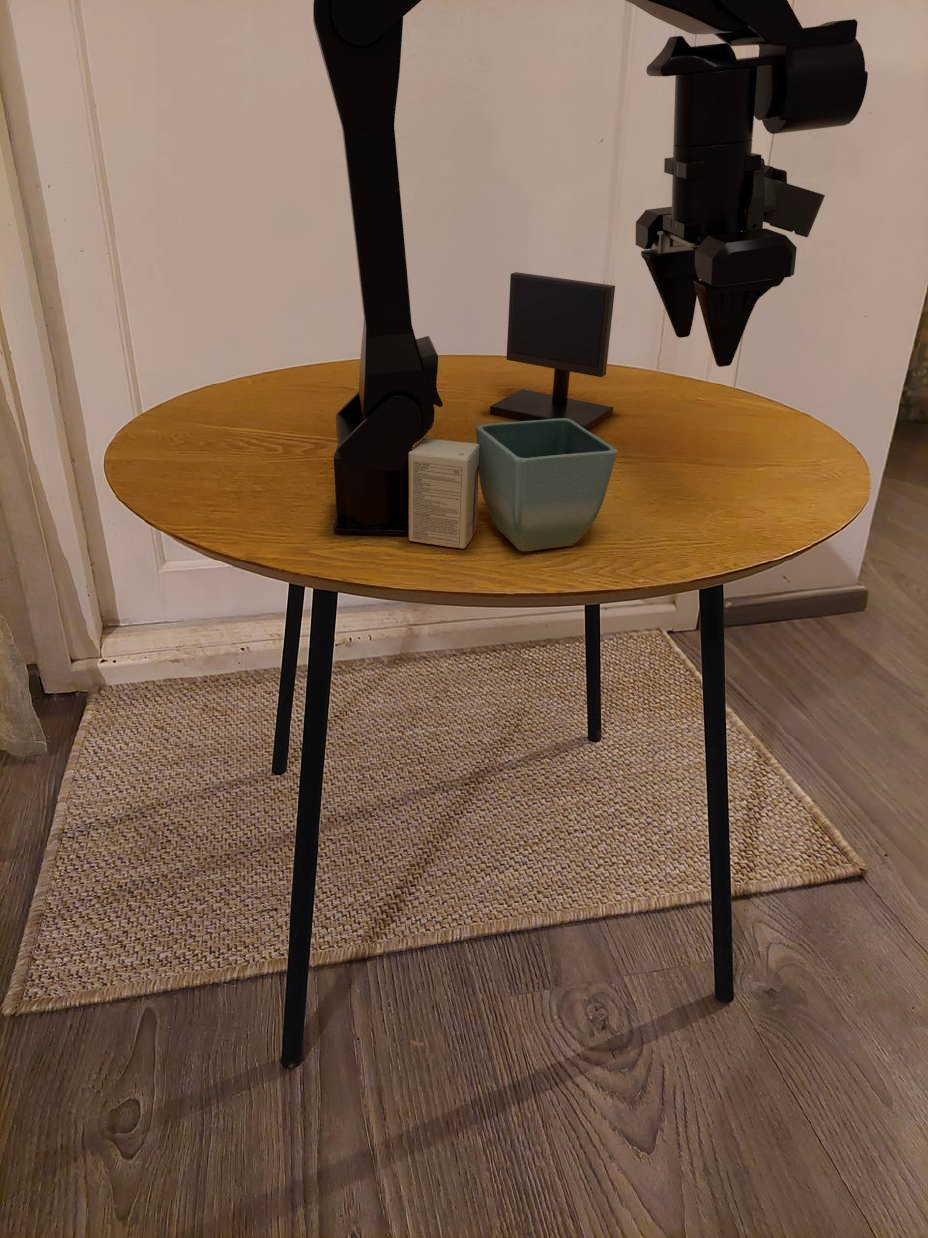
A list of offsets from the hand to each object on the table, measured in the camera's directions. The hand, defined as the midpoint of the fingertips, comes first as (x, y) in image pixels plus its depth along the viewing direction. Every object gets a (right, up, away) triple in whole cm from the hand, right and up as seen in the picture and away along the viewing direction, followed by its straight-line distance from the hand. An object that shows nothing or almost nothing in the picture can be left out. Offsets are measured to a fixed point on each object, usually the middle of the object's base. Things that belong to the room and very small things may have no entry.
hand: (702, 350), depth 76 cm
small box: (-22, -16, +1) cm, 27 cm away
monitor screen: (-10, +6, +27) cm, 29 cm away
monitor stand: (-10, +1, +29) cm, 31 cm away
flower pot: (-14, -16, +1) cm, 21 cm away
